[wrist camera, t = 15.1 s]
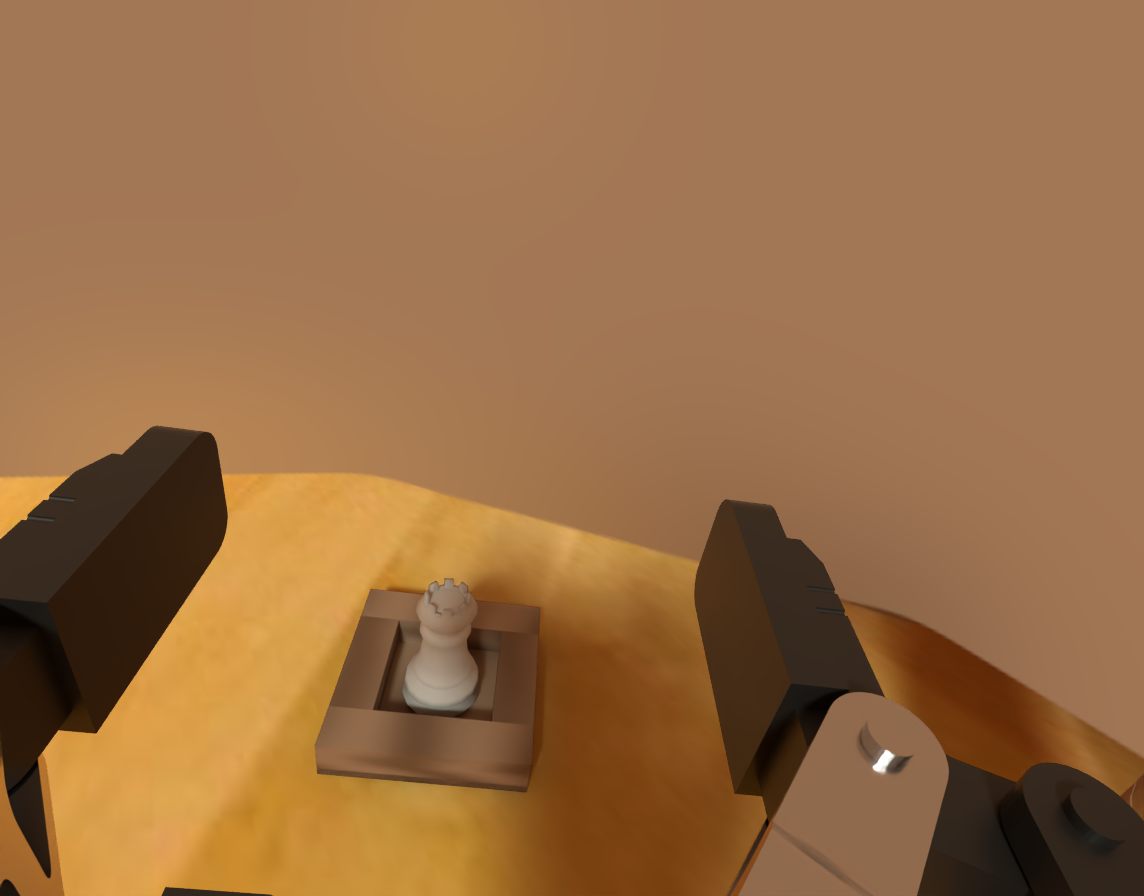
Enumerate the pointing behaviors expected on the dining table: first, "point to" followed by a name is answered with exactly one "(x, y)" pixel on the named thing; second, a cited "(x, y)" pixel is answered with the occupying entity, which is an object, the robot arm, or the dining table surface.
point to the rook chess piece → (443, 653)
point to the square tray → (431, 743)
